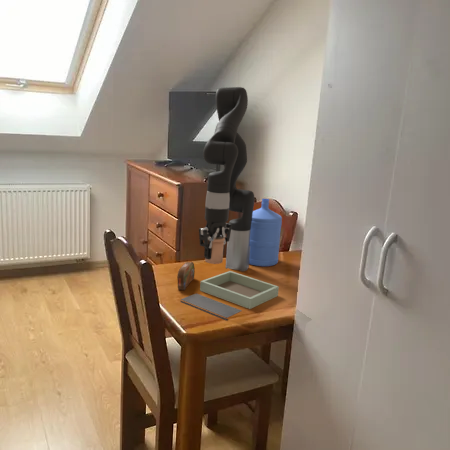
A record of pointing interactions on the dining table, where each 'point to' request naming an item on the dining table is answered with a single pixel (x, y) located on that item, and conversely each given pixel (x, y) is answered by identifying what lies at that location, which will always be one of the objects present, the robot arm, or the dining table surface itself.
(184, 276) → the tin
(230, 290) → the pale green tray
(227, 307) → the slate tile
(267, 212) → the water jug
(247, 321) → the dining table surface
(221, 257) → the clay pot
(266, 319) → the dining table surface
